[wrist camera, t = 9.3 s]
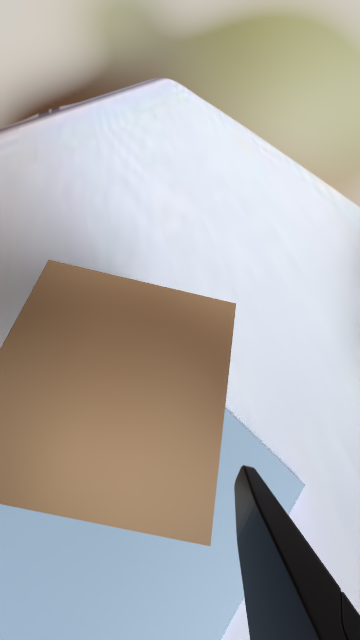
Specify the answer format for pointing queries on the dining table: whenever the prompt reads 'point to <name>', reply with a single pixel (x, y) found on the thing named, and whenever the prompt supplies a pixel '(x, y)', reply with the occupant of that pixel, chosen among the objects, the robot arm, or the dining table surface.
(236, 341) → the dining table surface
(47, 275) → the walnut column
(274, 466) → the board
